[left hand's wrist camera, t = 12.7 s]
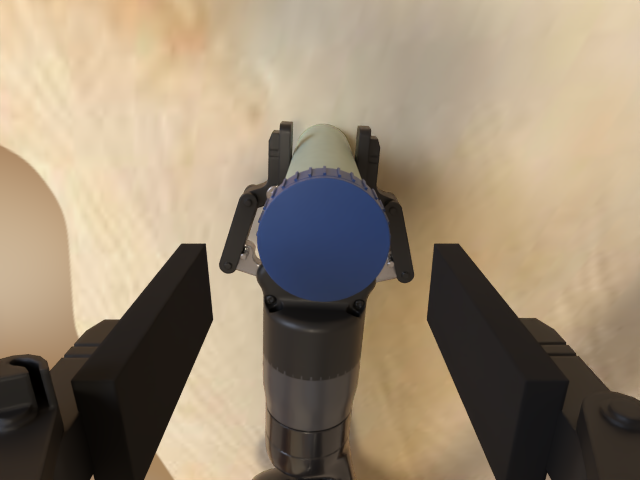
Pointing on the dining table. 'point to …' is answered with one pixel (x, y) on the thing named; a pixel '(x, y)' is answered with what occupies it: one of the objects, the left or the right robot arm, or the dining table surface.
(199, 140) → the dining table surface
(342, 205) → the lid
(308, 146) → the pale green cylinder
